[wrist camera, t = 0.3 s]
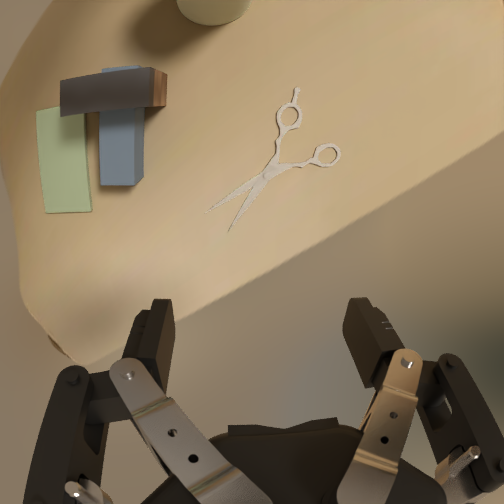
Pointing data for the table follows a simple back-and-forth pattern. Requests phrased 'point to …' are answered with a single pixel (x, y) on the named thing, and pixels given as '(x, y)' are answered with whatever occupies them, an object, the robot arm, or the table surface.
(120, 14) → the table surface
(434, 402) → the robot arm
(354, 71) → the table surface
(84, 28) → the table surface
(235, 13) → the can
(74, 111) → the block arch
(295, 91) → the scissors
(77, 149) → the pad
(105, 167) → the blue slab
